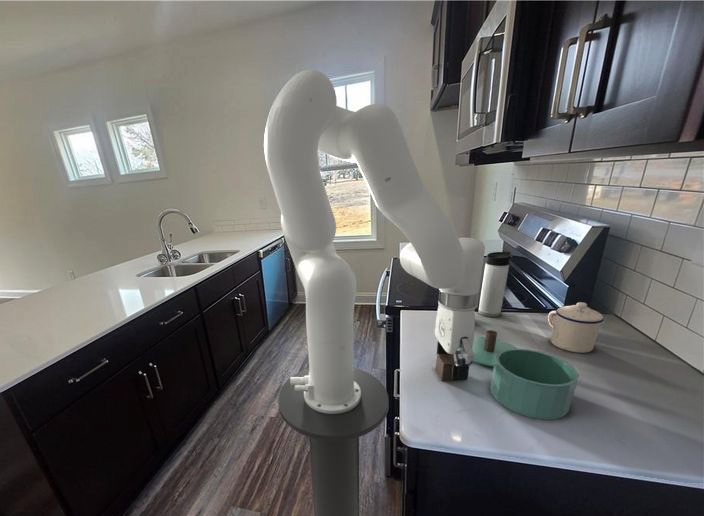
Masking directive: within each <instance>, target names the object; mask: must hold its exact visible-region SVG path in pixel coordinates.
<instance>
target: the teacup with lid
mask: <svg viewBox="0 0 704 516" xmlns="http://www.w3.org/2000/svg"><path fill="white" fill-rule="evenodd" d="M554 315H555V318H554ZM554 319H555V320H554ZM547 320H548V321H547V322H548V324H549V326H550V327H551V328H552V332H551V336H550V343H551V344H552V345H554V346H555V347H557V348H559V349H562V350H564V351H568V352H572V353H579V354H581V353H590V352H592V351H593V350H594V347H595V344H596V341H597V337H598V334H599V330H600V327H601V324H602V322H603V321H604V316H603V314H602V313H600V312H599V311H597V310H594V309H592V308H591V307H589V306H588V303H586V302H581V301H578V302H577V303H576V304H572V305H564V306H561V307H559V308H557V309H556V310H552V311H550V312H549V313H548V315H547Z"/></svg>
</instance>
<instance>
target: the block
mask: <svg viewBox="0 0 704 516" xmlns="http://www.w3.org/2000/svg"><path fill="white" fill-rule="evenodd" d="M460 359H461V357H459V360H460ZM453 364H455V361H454V355H453V354H437V353H436V361H435V371H436V374H437V375H438V377H439V379H440V380H441V381H445V382H446V381H447V382H448V381H449V382H450V381H453V380H452V379H451V377H452V367H453Z"/></svg>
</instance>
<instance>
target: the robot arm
mask: <svg viewBox="0 0 704 516" xmlns="http://www.w3.org/2000/svg"><path fill="white" fill-rule="evenodd" d="M337 101H338V100H337V95H336V90H335V87H334V85H333V83H332V81H331V79H330V78H329V77H328V76H327V75H326V74H325V73H324V72H322V71H320V70H317V69H305V70H302V71H300V72H297V73H295V74H294V75H293V76H292V77H290V79H289V80H288V81H287V82H286V83H285V84H284V85H283V87H282V88H281V90H280V91H279V93H278V94H277V96H276V97H275V99H274V101H273V103H272V105H271V107H270V110H269V113H268V116H267V120H266V125H265V129H264V130H265V131H264V140H263V148H264V151H263V152H264V159H265V164H266V168H267V172H268V175H269V176H268V177H269V178H270V182H271V185H272V189H273V191H274V195H275V198H276V201H277V205H278V207H279V210H280V226H281V230H282V234H283V237H284V239H285V242H286V245H287V247H288V250H289V254H290V256H291V259H292V262H293V264H294V267H295V269H296V273H297V275H298V278H299V281H300V282H301V284H302V287H303V289H304V294H305V295H304V296H305V326H306V338H307V353H308V354H307V355H308V368H309V376H305V377H300V378H299V377H292V376H290V377H289V378H290V385H291V386H295V392H301V391H304V398H305V401H306V403H307V404H308V405H309V406H310V407H311V408H312V409H314V410H316V411H318V412H322V413H326V414H339V413H344V412H347V411H349V410H351V409H353V408H354V407H356V406H357V405H358V403H359V402H360V399H361V390H360V387H359V385H358V384H357V383H356V382H355V381H354V367H355V360H354V358H355V357H354V356H355V355H354V354H355V352H354V351H355V350H354V349H355V348H354V347H355V346H354V344H355V343H354V342H355V341H354V339H355V338H354V337H355V336H354V334H355V333H354V315H355V304H356V298H357V286H358V285H357V284H358V283H357V279H356V276H355V273H354V271H353V269H352V267H351V266H350V265H349V264H348V262H347V261H346V260H345V259H343V258H342V257H341V256H339V255H338V254H337V250H336V247H335V245H334V239H335V237H336V232H337V222H336V219H335V215H334V212H333V209H332V206H331V204H330V199H329V196H328V194H327V190H326V187H325V184H324V180H323V175H322V171H321V167H320V161H319V153H322V154H325V155H326V156H330V157H333V158H335V159H339V160H342V161H346V162H349V163H355V164H357V167H358V168H359V170H360V173H361V174H362V176H363V179H364V181H365V183H366V185H367V187H368V190H369V192H370V195H371V197H372V198H373V201H374V203H375V205H376V207H377V209H378V211H380V213H382V215H383V216H384V217H385V218H386V219H387V220H388V221H390V222H391V223H392V224H393V225H395V227H396V228H398V229H399V231H400V232H402V233H403V235H404V236H405V237H406V239H407V240H408V241H409V242H410V243H408V244H406V245H405V247H404V248H402V250H401V252H400V255H399V261H400V266H401V267H402V270H404V271H405V272H406V273H407V274H409V275H410V276H412V277H413V278H414V277H415V278H416V279H418V280H420V281H421V282H423V283H425V284H427V286H430V287H432V288H434V289H438V306H437V311H436V318H435V325H434V335H435V338H436V340H437V345H436V355H437V354H453V355H454V361H455V364H453V367H452V377H451V379H452V380H453V381H454V382H456V381H457V382H458V381H459V382H461V381H462V382H463V381H468V379H469V371H470V367H471V365H472V363H473V361H472V360H473V358H474V354H473V351H472V347H473V340H474V337H475V328H476V327H475V326H476V325H475V324H476V311H475V310H476V309H477V308H478V307H479V306H478V305H479V300H480V298H479V297H480V289H481V281H482V276H483V275H482V274H483V268H484V267H483V266H484V259H485V251H486V246H485V243H484V242H483V241H482V240H481V239H479V238H473V237H459V235H458V233H457V230H456V229H455V227H454V224H453V223H452V222H451V220H450V218H449V217H448V215H447V214H446V213H445V212H444V210H443V209H442V207H441V206H440V205H439V204H438V202H437V201H436V200H435V198H434V197H433V196H432V194H431V193H430V192H429V191H428V190H427V189H426V187H425V186H424V184H423V181H422V179H421V177H420V174H419V171H418V169H417V167H416V165H415V162H414V159H413V156H412V153H411V151H410V148H409V145H408V143H407V140H406V138H405V135H404V132H403V131H402V128H401V125H400V122H399V120H398V118H397V116H396V114H395V112H394V111H393V110H392V109H391V107H389V106H388V105H387V104H383V103H371V104H368V105H366V106H363V107H361V108H359V109H358V110H356V111H354V110H350V109H347V108H344V107H342V106H339V105H337ZM474 309H475V310H474ZM458 348H462V349H463V350H461V351H459V350H458ZM462 354H464V356H463V357H459V355H462ZM459 358H460V360H459Z"/></svg>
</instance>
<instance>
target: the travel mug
mask: <svg viewBox="0 0 704 516" xmlns="http://www.w3.org/2000/svg"><path fill="white" fill-rule="evenodd" d="M511 256H512V255H511V252H510V251H506V250H504V251H494V252H490V253H488V254H486V259H485V265H484V270H483V277H482V278H483V279H482V284H481V291H480V296H479V297H480V298H479V303H478V305H479V306H478V312H477V313H479V314H480V315H482V316H484V317H489V318H497V317H499V316H501V315H502V314H501V313H502V307H503V302H504V297H505V291H506V285H507V279H508V273H509V268H510V262H511V258H512V257H511Z"/></svg>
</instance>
